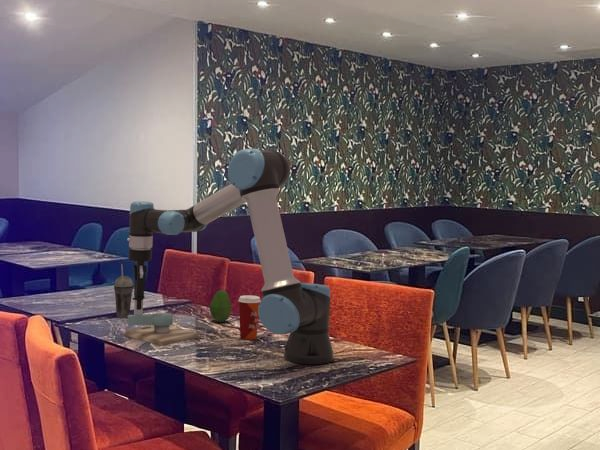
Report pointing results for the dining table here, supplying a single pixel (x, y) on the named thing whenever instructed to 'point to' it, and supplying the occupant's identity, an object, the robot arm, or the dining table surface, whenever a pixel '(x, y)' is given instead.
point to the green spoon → (151, 319)
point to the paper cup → (248, 316)
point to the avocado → (220, 306)
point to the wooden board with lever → (161, 334)
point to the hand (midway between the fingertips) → (138, 318)
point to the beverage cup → (123, 295)
